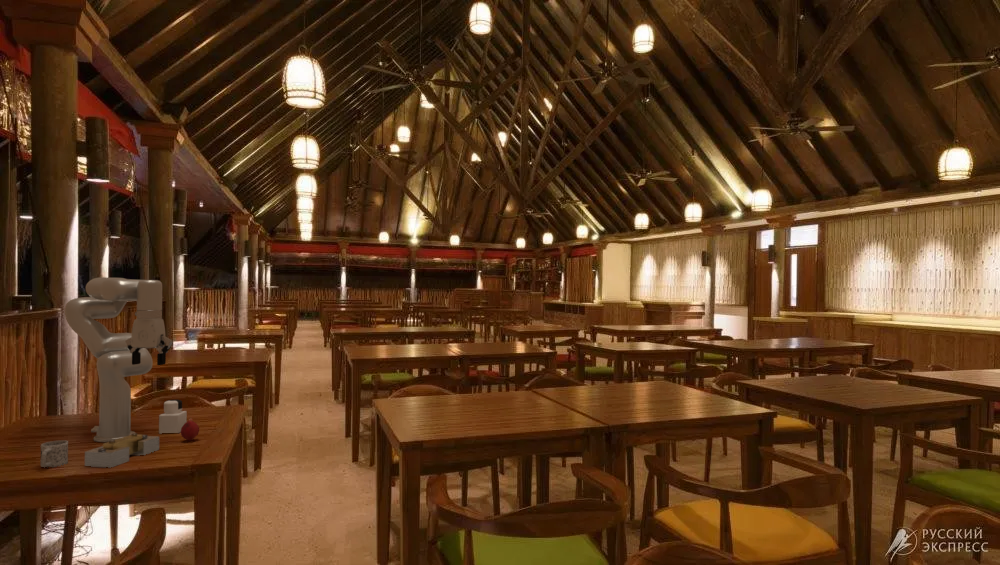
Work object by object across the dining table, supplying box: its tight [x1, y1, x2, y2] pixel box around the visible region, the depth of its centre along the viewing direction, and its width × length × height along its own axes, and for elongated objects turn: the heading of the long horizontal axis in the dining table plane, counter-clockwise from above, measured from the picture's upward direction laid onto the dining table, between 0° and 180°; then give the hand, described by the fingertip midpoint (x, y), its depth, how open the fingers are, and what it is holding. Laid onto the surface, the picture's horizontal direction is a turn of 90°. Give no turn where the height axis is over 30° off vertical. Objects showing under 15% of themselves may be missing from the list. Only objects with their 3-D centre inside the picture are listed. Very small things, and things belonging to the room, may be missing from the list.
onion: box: [180, 418, 200, 442], centre depth 204 cm, size 6×6×8 cm
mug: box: [40, 439, 69, 469], centre depth 174 cm, size 10×7×7 cm
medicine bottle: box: [158, 399, 188, 435], centre depth 218 cm, size 7×7×12 cm
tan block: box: [102, 432, 143, 454], centre depth 183 cm, size 4×12×6 cm, turn 172°
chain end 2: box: [129, 434, 160, 456], centre depth 189 cm, size 9×7×5 cm
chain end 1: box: [84, 445, 130, 469], centre depth 177 cm, size 9×7×5 cm
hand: (148, 364), depth 198 cm, fingers open, 9 cm apart
